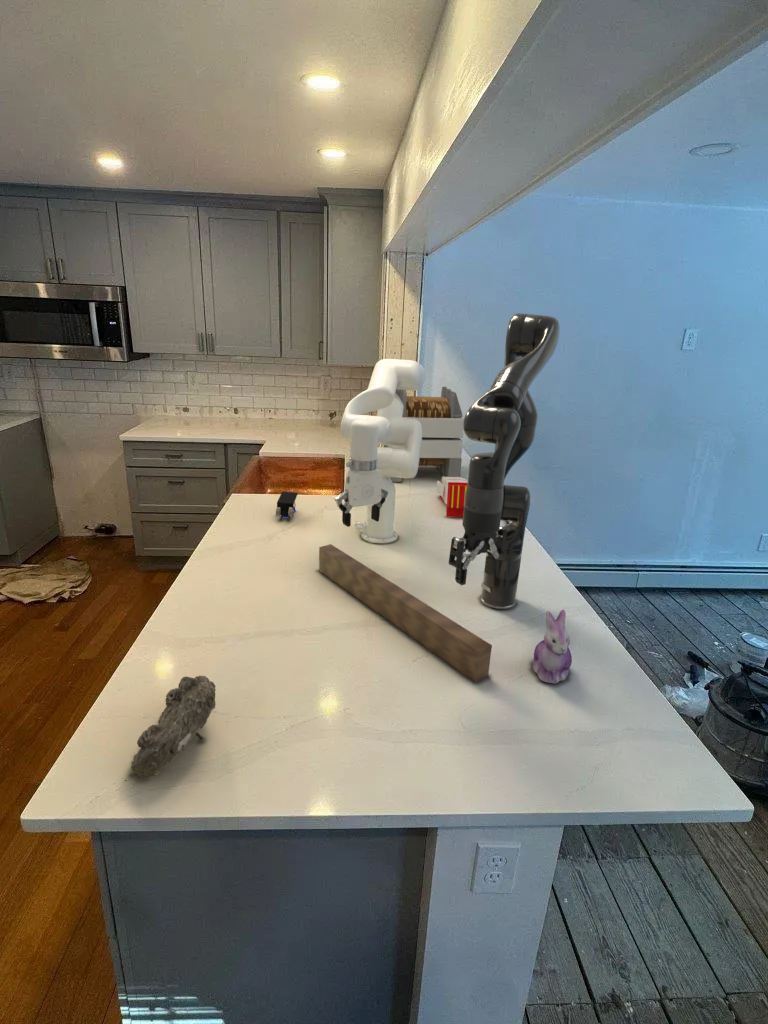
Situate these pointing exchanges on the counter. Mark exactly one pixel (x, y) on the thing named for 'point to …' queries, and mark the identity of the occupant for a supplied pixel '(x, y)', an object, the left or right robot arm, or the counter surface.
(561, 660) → the figurine
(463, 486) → the toy
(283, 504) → the figurine character
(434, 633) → the beam
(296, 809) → the counter surface
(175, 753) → the fossil
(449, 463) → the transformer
